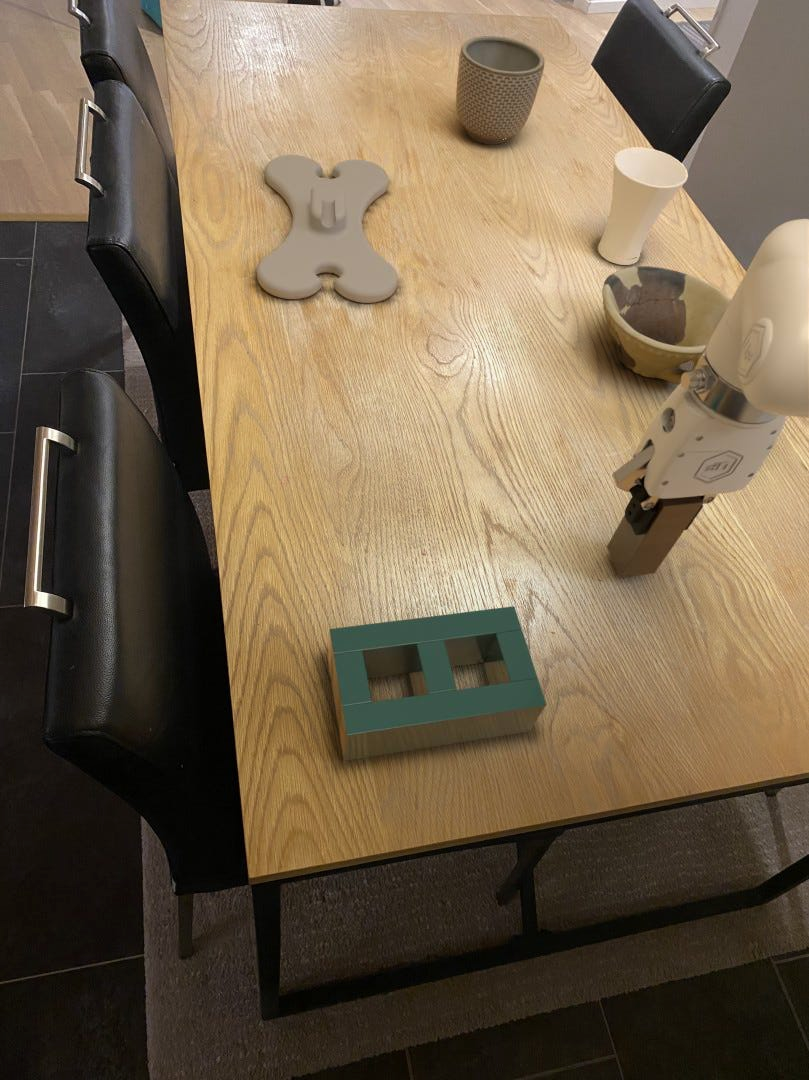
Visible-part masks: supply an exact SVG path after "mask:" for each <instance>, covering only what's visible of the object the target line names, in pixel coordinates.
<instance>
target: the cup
mask: <svg viewBox="0 0 809 1080" xmlns="http://www.w3.org/2000/svg"><path fill="white" fill-rule="evenodd" d="M612 169H613V172H612V173H613V175H612V194H611V195H612V196H611V204H610V211H609V214H608V215H609V216H608V220H607V223H606V226H605V230H604V232H603V234H602V237H601V238H600V241H599V242H598V245H597V252H598V254H599V255H600V256H601V258H603V259H605V260H606V261H608V262H610V263H613V264H616V265H622V266H630V265H633V264H636V263H638V261H639V260H640V257H641V254H642V250H643V247H644V243H645V241H646V239H647V238H648V235H649V233H650V231H651V229H652V228H653V226H654V224H655V222H656V221H657V219H658V218H659V216H660V215H661V213H662V212H663V211H664V209H665V208H666V207H667V206H668V204H669V203H670V202H671V201H672V199H673V198H674V197H675V195H676V194H677V193H678V192H679V190H680V189H681V188H682V187H683V186H684V185H685V183H686V182H687V181H688V177H689V174H688V169H687V168H686V166H685V165H684V164H683V163H682V162H680V161H679V160H678V159H677V158H675V157H674V156H672V155H671V154H668V153H666V152H663V151H661V150H657V149H653V148H650V147H649V148H648V147H642V146H641V147H640V146H635V147H634V146H633V147H625V148H624V149H621V150H619V151H618V152H617V153H615V155H614V157H613V168H612ZM640 253H641V254H640ZM610 255H611V256H610ZM615 257H617V258H615ZM635 257H637V258H635ZM618 258H621V259H618ZM631 258H635V259H631ZM624 259H631V260H624Z"/></svg>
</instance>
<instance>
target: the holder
mask: <svg viewBox="0 0 809 1080" xmlns="http://www.w3.org/2000/svg"><path fill="white" fill-rule="evenodd" d="M323 171H324V170H323V166H321V164H320V163H319V162H317V161H316V160H314V159H313V158H310V157H306V156H305V155H299V154H283V155H280V156H277V157H275V158H272V159H270V160H269V161H268V163H266V166H265V168H264V177H265V181H266V183H267V184H268V185H269V187H270V188H271V189H273V190H274V191H275V192H277V193H278V195H280V196H281V197H282V199H283V200H284V201H285V203H287V205H288V207H289V209H290V212H291V216H292V223H291V224H292V225H291V227H290V230H289V232H288V234H287V236H286V237H285V238H284V240H283V241H282V242H281V243H280V244H279V245H278V246H277V247H276V248H275V249H274V250H272V251H271V252H269V253H268V254H266V255H265V256H263V258H262V259H260V260H259V262H258V264H257V266H256V280H257V281H258V284H259V286H260V287H261V288H262V289H263V290H264V291H265V292H266V293H268V294H270V295H272V296H274V297H276V298H281V299H287V300H300V299H305V298H307V297H311V296H313V295H314V294H316V293H318V291H320V290H321V288H322V287H323V278H320V277H319V276H318V275H319V274H322V273H330V274H334V275H337V276H338V278H335V279H334V280H333V288H334V289H335V290H336V292H337V293H338V294H340V295H341V296H342V297H343V298H345V299H347V300H350V301H353V302H357V303H363V304H372V303H378V302H381V301H385V300H387V299H389V298H390V297H391V296H392V295H394V293H395V291H396V290H397V287H398V280H399V277H398V273H397V270H396V269H395V268H394V266H393V265H392V264H391V262H389V261H387V260H386V259H385V258H384V257H382V256H381V255H380V253H378V252H377V251H376V249H375V248H374V247H373V246H372V244H371V243H370V242H369V240H368V238H367V237H366V233H365V232H364V231H365V230H364V227H363V219H364V215H365V213H366V211H367V209H368V208H369V207H370V205H372V203H374V202H375V201H376V200H377V199H378V198H380V197H381V196H382V195H384V194H385V193H386V192H387V190H388V188H389V182H390V181H389V175H388V173H387V171H386V170H385V169H384V168H383V167H382V166H380V165H379V164H377V163H375V162H372V161H368V160H366V159H365V160H364V159H348V160H347V159H346V160H343V161H341V162H339V163H337V164H335V165H334V166H333V168H332V170H331V176H332V177H333V178H325V177H321V176H322V175H323Z"/></svg>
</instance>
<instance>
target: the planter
mask: <svg viewBox="0 0 809 1080" xmlns="http://www.w3.org/2000/svg"><path fill="white" fill-rule="evenodd" d="M544 68H545V57H544V56H543V54H542V53H541V52H540V51H539V50H538V49H537V48H535V47H533V46H532V45H530V44H529V43H526V42H524V41H521V40H518V39H515V38H512V37H511V38H510V37H505V36H499V35H480V36H475V37H472V38H469V39H468V40H467V39H466V41H465V42H463V44H462V45H461V48H460V51H459V58H458V68H457V78H456V93H455V109H456V115H457V118H458V120H459V122H460V124H461V125H462V126H463V127H464V128H465V130H467V134H468V135H469V137H470V138H471V139H473V140H474V141H475V142H478V143H481V144H484V145H492V146H494V145H495V146H496V145H500V144H503V143H505V142H506V141H507V140H508V139H509V138H511V137H513V136H515V135H517V134H518V133H520V131H521V130H522V129H524V127H525V125H526V124H527V121H528V120H529V118H530V114H531V113H532V109H533V107H534V103H535V101H536V98H537V94H538V90H539V87H540V84H541V81H542V77H543V74H544V70H545V69H544ZM505 138H506V139H505ZM503 139H504V140H503Z"/></svg>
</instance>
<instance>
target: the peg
mask: <svg viewBox="0 0 809 1080" xmlns="http://www.w3.org/2000/svg"><path fill="white" fill-rule="evenodd" d="M702 504H703V501H702V499H701V497H700V496H693V497H681V498H667V499H662V498H661V499H660V500H659V501H658V503H657V504H656V505H655V507H656V513H655V515H654V517H653V518H652V520H651V522H650V523H649V525H648V526H647V528H646V530H645V531H644V533H643V534H642V535H635V533H634V531H633V529H632V527H631V524H630V523H628V522H627V520H626V517H625V514H624V515H623V517H622V518H621V520H620V522H619V524H618V526H617V527H616V529H615V531H614V533H613V534H612V536H611V538H610V540H609V541H608V544H607V545H606V548H607V550H608V553H609V555H610V558H611V560H612V563H613V565H614V567H615V569H616V572H617V574H618V577H619V578H620V579H621V578H630V577H638V576H645V575H652V574H653V575H655V574H656V572H657V570H658V569H659V568H660V566H661V565H662V563H663V562H664V561H665V559H666V557H667V556H668V555H669V554H670V551H672V548H673V547H675V544H676V543H677V541H678V540H679V539H680V537H681V536H682V534H683V533H684V531H686V530H685V529H686V527H687V526H688V524H689V523H690V521H691V520H692V518H693V517H694V515H695V514H696V513H697V511H698V510H699V508H700V507H701V505H702ZM703 505H704V504H703Z"/></svg>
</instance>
